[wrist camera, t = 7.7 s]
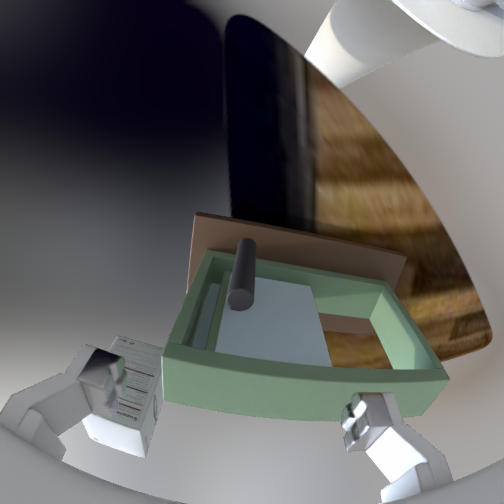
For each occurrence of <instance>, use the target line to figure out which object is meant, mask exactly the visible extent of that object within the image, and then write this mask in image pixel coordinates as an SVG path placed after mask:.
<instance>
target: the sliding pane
mask: <svg viewBox="0 0 504 504" xmlns="http://www.w3.org/2000/svg"><path fill="white" fill-rule="evenodd" d="M256 248H257V246H256V243H255V241H254V240H252V239H250V238H244V239H242V240H240V242H239V243H238V248H237V252H236V257H235V262H234V267H233V272H232V273H231V271H224V275H223V279H222V282H221V286H220V290H219V294H218V298H217V302H216V306H215V310H214V314H213V318H212V322H211V326H210V330H209V334H208V338H207V342H206V346H205V350H208V351H213V352H219V353H224V354H230V355H236V356H242V357H249V358H256V359H263V360H270V361H278V362H286V363H295V364H305V365H315V366H328V367H332V364H331V360H330V356H329V352H328V349H327V345H326V341H325V337H324V334H323V330H322V326H321V322H320V319H319V315H318V312H317V308H316V304H315V301H314V297H313V294H312V290H311V287H310V286H306V285H300V284H294V283H288V282H282V281H277V280H271V279H265V278H259V277H255V269H256Z"/></svg>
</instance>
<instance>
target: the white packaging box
mask: <svg viewBox="0 0 504 504" xmlns="http://www.w3.org/2000/svg"><path fill="white" fill-rule="evenodd" d="M163 351H164V349H163V348H161V347H157V346H153V345H149V344H146V343H142V342H139V341H135V340H132V339H129V338H125V337H121V336H117V337H116V339H115V341H114V342H113V344H112V345H111V347H110V349H109V351H108V352H110V353H113V354H116V355H119V356H122V357H124V359H125V366H124V369H125V370H126V371H127V376H128V382H127V386H126V390H125V393H124V395H123V396H121V397H120V398H118V402H119V407H118V409H117V411H116V413H115V416H114V418H110V417H107V416H104V415H101V414H98V413H95V412H92V413H91V414H90V415H88V416H87V417H85V418H84V419H82V421H83V424H84V426H85V428H86V430H87V432H88V434H89V436H90V438H91V439H93V440H95V441H97V442H99V443H102V444H104V445H107V446H110V447H113V448H115V449H118V450H121V451H124V452H127V453H130V454H133V455H136V456H140V457H143V458H146V455H147V452H148V448H149V445H150V442H151V438H152V435H153V432H154V429H155V425H156V422H157V419H158V416H159V413H160V410H161V406H162V403H163V386H162V361H161V356H162V353H163Z"/></svg>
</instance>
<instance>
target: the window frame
mask: <svg viewBox="0 0 504 504" xmlns="http://www.w3.org/2000/svg"><path fill="white" fill-rule="evenodd" d="M244 238H250V239H252V240H254V241H255V243H256V246H257V248H256V269H255V277H259V278H265V279H271V280H277V281H282V282H288V283H294V284H300V285H306V286H310V287H311V290H312V294H313V297H314V301H315V304H316V308H317V312H318V315H319V319H320V322H321V326H322V330H324V331H332V332H341V333H351V334H361V335H372V336H373V335H374V333H375V331H376V333H377V335H378V337H379V339H380V341H381V343H382V345H383V348H384V350H385V352H386V354H387V356H388V358H389V360H390V363H391V365H392V367H393V369H361V368H342V367H328V366H315V365H305V364H295V363H286V362H278V361H270V360H263V359H256V358H249V357H242V356H236V355H230V354H224V353H219V352H213V351H208V350H205V346H206V342H207V338H208V334H209V330H210V326H211V322H212V318H213V314H214V310H215V306H216V302H217V298H218V294H219V290H220V286H221V282H222V279H223V275H224V271H231V273H232V272H233V267H234V262H235V257H236V252H237V248H238V243H239V242H240V240H242V239H244ZM406 260H407V256H406V255H405V254H404V253H403V252H398V251H394V250H390V249H385V248H381V247H376V246H372V245H367V244H362V243H358V242H353V241H348V240H344V239H339V238H334V237H329V236H324V235H320V234H315V233H310V232H305V231H300V230H295V229H289V228H284V227H279V226H274V225H269V224H263V223H258V222H253V221H247V220H242V219H236V218H231V217H225V216H219V215H213V214H207V213H201V212H197V213H196V214H195V216H194V225H193V233H192V242H191V252H190V262H189V272H188V285H187V295H186V298H185V300H184V302H183V305H182V307H181V309H180V312H179V314H178V316H177V319H176V321H175V323H174V326H173V328H172V331H171V333H170V335H169V338H168V340H167V343H166V346H165V348H164V351H163V353H162V356H161V361H162V386H163V400H165V401H169V402H173V403H178V404H182V405H186V406H191V407H196V408H201V409H207V410H212V411H218V412H224V413H231V414H238V415H245V416H254V417H263V418H273V419H286V420H302V421H341V414H342V410H343V409H344V407H345V406H346V405H347V404H349V403H351V397H352V395H353V394H354V393H356V392H392V393H393V394H394V396H395V399H396V401H397V404H398V407H399V410H400V412H401V415H402V418H406V417H414V416H421V415H422V414H423V413H424V412H425V411H426V410H427V409H428V407H429V406H430V405H431V404H432V402H433V401H434V400H435V399H436V398H437V396H438V395H439V394H440V393H441V391H442V390H443V389H444V387H445V386H446V385H447V384H448V382H449V381H450V378H449V376H448V374H447V373H446V371H445V369H444V367H443V366H442V364H441V362H440V361H439V359H438V357H437V356H436V354H435V353H434V351H433V349H432V348H431V346H430V345H429V343H428V342H427V340H426V338H425V337H424V335H423V334H422V332H421V331H420V329H419V328H418V326H417V325H416V323H415V322H414V320H413V319H412V317H411V316H410V314H409V313H408V312H407V310H406V309H405V307H404V306H403V304H402V303H401V302H400V300H399V299H398V297H397V296H396V295H395V293H394V290H395V287H396V285H397V282H398V280H399V278H400V275H401V273H402V270H403V268H404V265H405V262H406Z"/></svg>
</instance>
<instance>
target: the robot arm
mask: <svg viewBox="0 0 504 504" xmlns="http://www.w3.org/2000/svg"><path fill="white" fill-rule="evenodd" d="M449 1H451V2H452V3H454V4H456V5H458V6H460V7H462V8H464V9H467V10H471V11H481V10H483V9H484V8H486V7H487V6H493V7H497V6H499V5H501V0H449ZM124 366H125V359H124V357H122V356H119V355H116V354H113V353H110V352H107V351H105V350H102V349H99V348H96V347H93V346H90V345H88V344H85V345H84V346H82V348H81V349H80V350H79V352H78V353H77V355H76V356H75V358H74V359H73V361H72V362H71V364H70V365H69V367H68V368H67V370H66V372H65V373H64V374H62V373H60V374H57V375H55V376H53V377H51V378H49V379H46V380H44V381H42V382H39V383H38V384H35V385H33V386H31V387H28V388H26V389H24V390H22V391H19V392H17V393H15V394H13V395H12V396H11V397H10V398H9V400H8V402H7V403H6V404H5V406H4V407H3V409H2V411H1V412H0V504H185V503H180V502H176V501H171V500H167V499H163V498H159V497H155V496H152V495H148V494H144V493H141V492H138V491H134V490H131V489H128V488H125V487H122V486H119V485H116V484H114V483H111V482H108V481H106V480H103V479H100V478H98V477H95V476H93V475H91V474H88V473H86V472H84V471H81V470H79V469H77V468H75V467H73V466H71V465H69V464H67V463H64V462H62V458H63V456H64V454H65V451H66V448H65V446H64V445H63V444H62V442H61V441H60V439H59V438H58V437H57V436H59V435H60V434H62V433H63V432H65V431H66V430H68V429H69V428H71V427H72V426H74V425H75V424H77V423H78V422H79V421H81V420H82V419H84V418H85V417H87V416H88V415H90V414H91V413H92V412H95V413H98V414H101V415H104V416H107V417H110V418H114V416H115V413H116V411H117V409H118V407H119V402H118V398H120V397H121V396H123V395H124V393H125V390H126V386H127V382H128V376H127V371H126V370H125V369H124ZM341 427H342V429H344V431H345V432H346V434H345V436H344V442H345V448H346V451H366V453H367V454H368V455H369V456H370V458H371V459H372V460H373V461H374V462H375V464H376V465H377V466H378V467H379V469H380V470H381V471H382V472H383V473H384V475H385V476H386V477H387V478H388V479H389V481H390V482H391V484H389V485H387V486H386V487H384V488H383V489H382V490H381V497H382V503H378V504H504V458H503V459H501V460H499V461H497V462H496V463H493V464H491V465H490V466H488V467H486V468H484V469H481V470H479V471H477V472H475V473H473V474H470V475H468V476H466V477H463V478H461V479H458V480H456V481H453V478H452V475H451V472H450V469H449V466H448V463H447V460H446V458H445V456H444V455H443V454H442V453H441V452H440V451H438V450H437V449H436V448H435V447H434V446H433V445H431V444H430V443H429V442H428V441H427V440H426V439H424V438H423V437H422V436H421V435H420V434H418V433H417V432H416V431H415V430H414V429H413V428H412V427H411V426H409V425H408V424H405V423H404V420H403V418H402V415H401V412H400V410H399V407H398V404H397V401H396V399H395V396H394V394H393V393H392V392H356V393H354V394H353V395H352V397H351V403H349V404H347V405H346V406H345V407H344V409H343V410H342V414H341Z"/></svg>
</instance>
